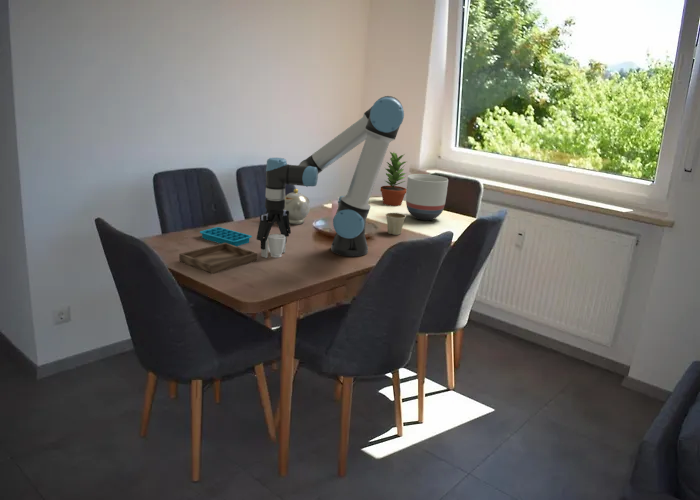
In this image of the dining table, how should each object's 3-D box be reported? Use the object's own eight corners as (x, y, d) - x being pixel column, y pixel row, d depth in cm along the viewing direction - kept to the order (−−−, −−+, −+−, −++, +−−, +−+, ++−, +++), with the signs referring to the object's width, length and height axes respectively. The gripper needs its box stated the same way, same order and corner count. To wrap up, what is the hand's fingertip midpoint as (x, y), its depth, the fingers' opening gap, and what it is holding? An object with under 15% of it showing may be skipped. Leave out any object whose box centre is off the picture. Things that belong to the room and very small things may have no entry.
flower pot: (393, 237, 271) (395, 218, 269) (379, 231, 278) (381, 213, 275) (408, 234, 277) (410, 216, 274) (394, 229, 284) (396, 211, 281)
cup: (274, 259, 230) (275, 239, 227) (258, 253, 236) (259, 233, 234) (288, 256, 235) (289, 236, 232) (272, 250, 241) (273, 230, 239)
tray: (257, 260, 227) (257, 253, 226) (211, 274, 210) (211, 266, 209) (225, 249, 237) (225, 242, 237) (179, 261, 221) (179, 253, 220)
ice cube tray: (218, 233, 260) (218, 226, 259) (253, 243, 250) (253, 236, 249) (198, 238, 250) (198, 231, 250) (233, 249, 240) (233, 241, 239)
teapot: (296, 228, 274) (297, 193, 269) (273, 222, 281) (274, 188, 276) (319, 221, 289) (321, 188, 284) (297, 216, 296) (298, 183, 291)
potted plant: (411, 205, 334) (416, 152, 325) (388, 207, 327) (393, 152, 318) (396, 199, 346) (400, 148, 337) (374, 201, 339) (378, 148, 330)
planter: (403, 212, 317) (406, 172, 311) (441, 215, 317) (445, 175, 310) (404, 222, 298) (408, 180, 291) (445, 225, 297) (450, 183, 291)
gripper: (287, 193, 239) (285, 246, 246) (247, 200, 222) (246, 257, 229) (301, 196, 235) (299, 250, 242) (261, 204, 218) (260, 262, 225)
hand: (273, 254), depth 235 cm, fingers open, 9 cm apart
